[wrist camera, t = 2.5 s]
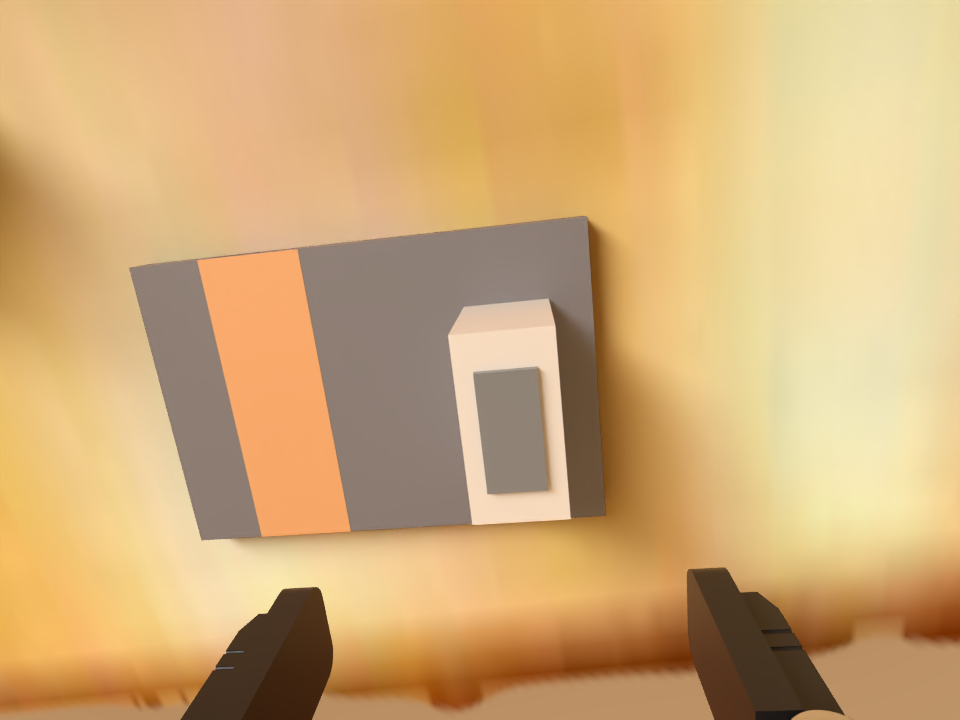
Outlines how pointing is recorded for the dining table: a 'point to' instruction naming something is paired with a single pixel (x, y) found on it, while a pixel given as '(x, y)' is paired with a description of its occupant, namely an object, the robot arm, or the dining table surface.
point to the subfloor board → (355, 374)
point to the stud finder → (510, 412)
